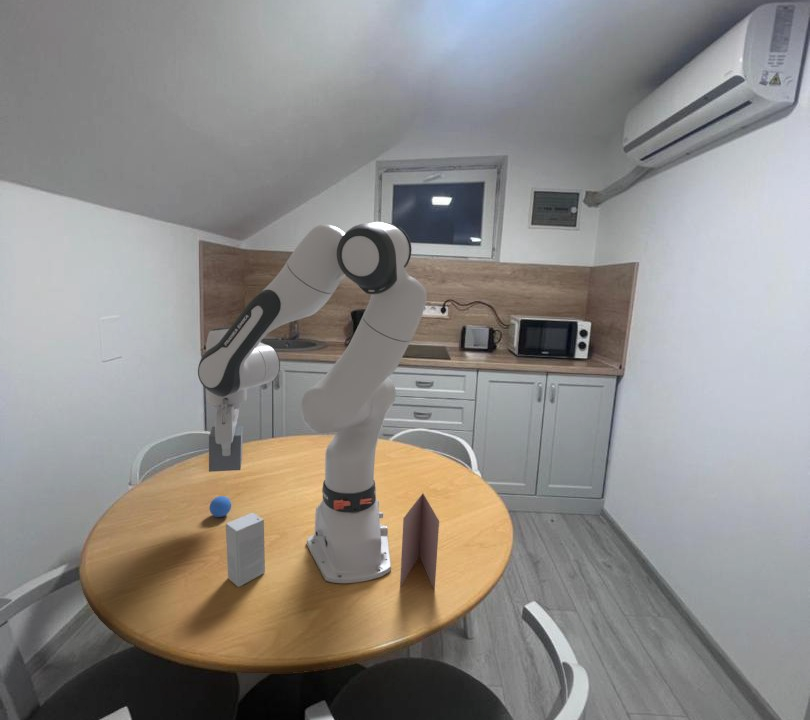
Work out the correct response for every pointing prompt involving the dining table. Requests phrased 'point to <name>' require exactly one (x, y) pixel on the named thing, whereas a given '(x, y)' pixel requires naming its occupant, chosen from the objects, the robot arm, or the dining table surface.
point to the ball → (220, 506)
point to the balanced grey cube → (225, 462)
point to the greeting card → (420, 539)
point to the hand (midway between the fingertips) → (228, 448)
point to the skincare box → (245, 548)
